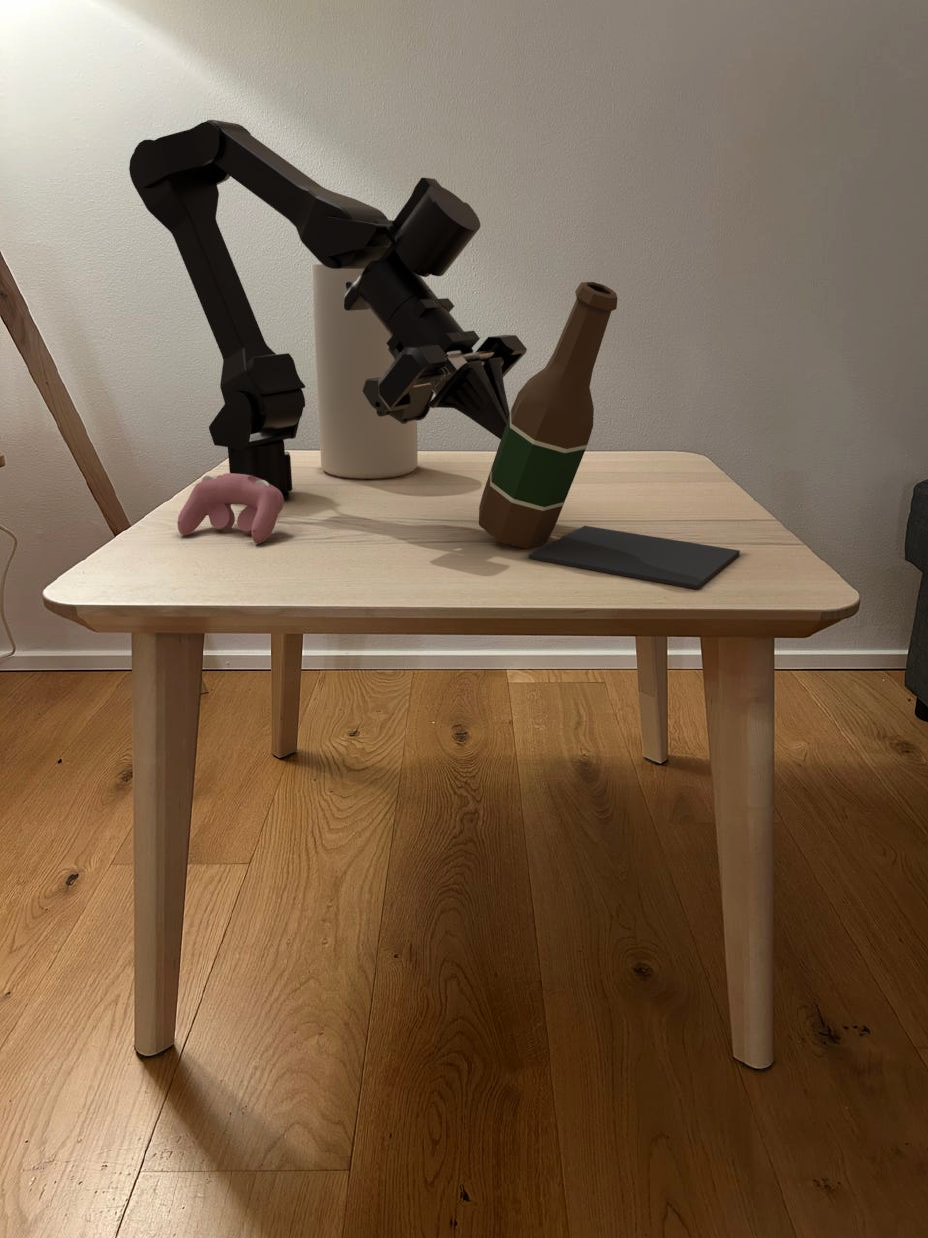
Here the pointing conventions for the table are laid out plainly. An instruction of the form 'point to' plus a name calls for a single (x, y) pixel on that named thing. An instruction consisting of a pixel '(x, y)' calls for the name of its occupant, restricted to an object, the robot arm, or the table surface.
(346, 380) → the cylinder vase
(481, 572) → the table surface
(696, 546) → the mat
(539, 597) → the table surface
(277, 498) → the video game controller
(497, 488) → the beer bottle
